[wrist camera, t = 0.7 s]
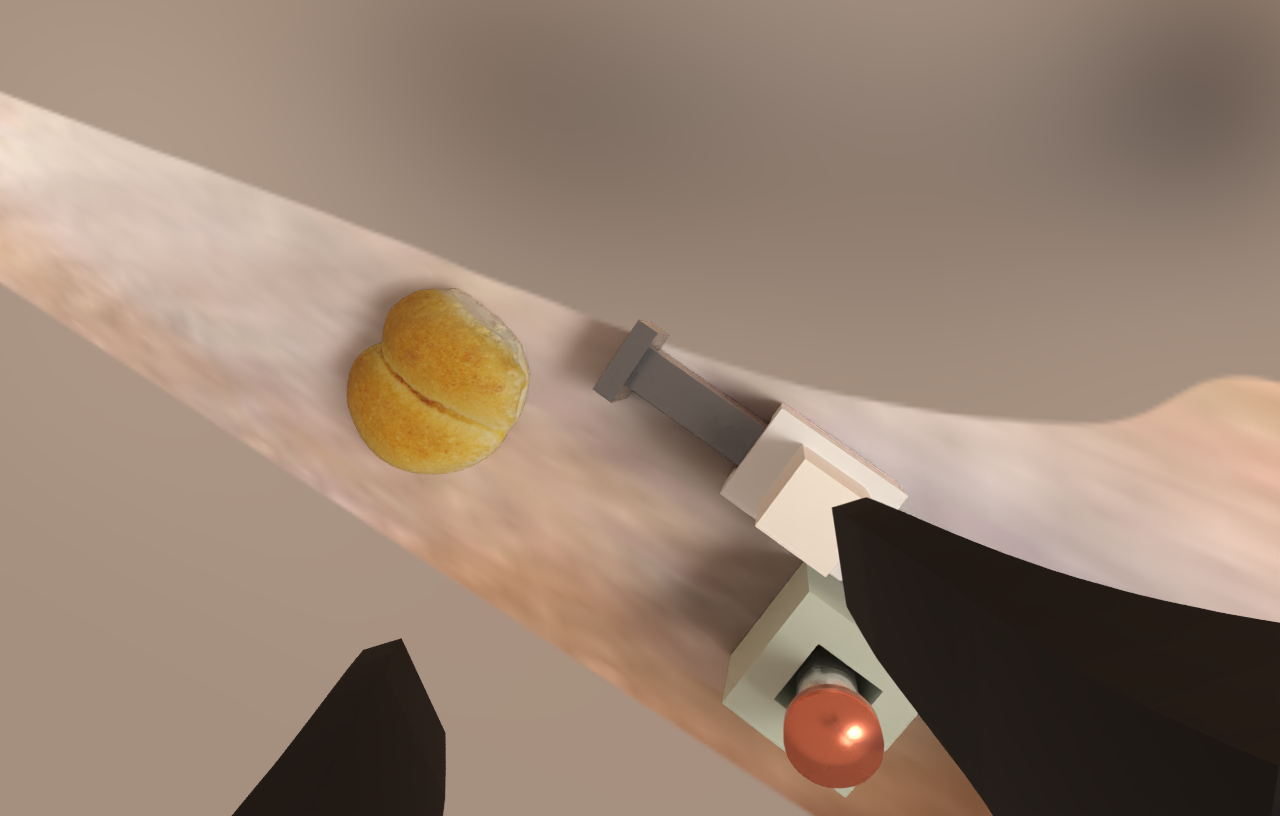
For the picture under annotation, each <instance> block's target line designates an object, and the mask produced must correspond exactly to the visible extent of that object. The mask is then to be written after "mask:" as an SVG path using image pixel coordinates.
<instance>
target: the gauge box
mask: <svg viewBox="0 0 1280 816" xmlns="http://www.w3.org/2000/svg"><path fill="white" fill-rule="evenodd" d="M818 644H820V645H821V646H822V647H824V648H825V649H826V650H828V651H829V652H830V653H832V654H833V655H835V656H836V657H837V658H839V659H840V660H841V661H843V662H844V663H845V664H847V665H848V666H849V667H851V668H852V669H853V670H854V673H855V678H856V682H857V687H858V692H859V694H860V695H861V696H862V697H864V698H865V699H866V700H867V701H868V702H869V703H870V705H871V706H872V707H873V709H874V710H875V712H876V714H877V716H878V719H879V722H880V726H881V730H882V734H883V738H884V753H885V752H886V750H887V749H888V748H889V747H890V746H891V745H892V743H893V742H894V741H895V740H896V739H897V738H898V736H899V735H900V734H901V733H902V732H903V731H904V729H905V728H906V727H907V726H908V725H909V724H910V722H911V721H912V720H913V719H914V718H915V717H916V716H917V714H918V713H917V711H916V710H915V709H914V708H913V706H912V705H911V704H910V702H909V701H908V700H907V698H906V697H905V696H904V694H903V693H902V692H901V690H900V689H899V688H898V686H897V685H896V684H895V683H894V681H893V680H892V679H891V677H890V676H889V675H888V673H887V672H886V671H885V669H884V668H883V667H882V665H881V664H880V662H879V661H878V660H877V658H876V657H875V655H874V653H873V652H872V650H871V648H870V647H869V645H868V643H867V642H866V640H865V638H864V637H863V635H862V633H861V631H860V630H859V628H858V626H857V624H856V623H855V621H854V619H853V617H852V616H851V614H850V612H849V610H848V608H847V607H846V600H845V594H844V587H843V584H842V583H840V582H839V581H838V580H836V579H835V578H833V577H832V576H831V575H829V574H828V575H827V576H826V577H824V576H823V575H822V574H820V573H819V572H818V571H816V570H815V569H813V568H812V567H811V566H809V565H808V564H806V563H805V562H804V561H803V563H802V564H801V565H800V567H799V568H798V569H797V570H796V572H795V573H794V574H793V576H792V577H791V578H790V579H789V581H788V582H787V583H786V585H785V586H784V587H783V588H782V590H781V591H780V592H779V594H778V595H777V596H776V598H775V599H774V600H773V601H772V603H771V604H770V605H769V607H768V608H767V609H766V610H765V612H764V613H763V614H762V616H761V617H760V618H759V619H758V621H757V622H756V623H755V625H754V626H753V627H752V628H751V630H750V631H749V632H748V634H747V635H746V636H745V638H744V639H743V640H742V641H741V643H740V644H739V645H738V647H737V648H736V649H735V650H734V652H733V653H732V654H731V656H730V661H729V666H728V672H727V677H726V683H725V688H724V693H723V699H722V704H723V705H725V706H726V707H727V708H729V709H730V710H731V711H733V712H734V713H735V714H736V715H738V716H739V717H740V718H742V719H743V720H744V721H746V722H747V723H748V724H749V725H751V726H752V727H753V728H755V729H756V730H757V731H759V732H760V733H761V734H762V735H764V736H765V737H766V738H768V739H769V740H770V741H772V742H773V743H774V744H775V745H777V746H778V747H779V748H781V749H782V750H783V751H785V747H784V740H783V723H784V715H785V712H786V709H787V707H788V705H789V704H790V702H791V701H792V699H793V698H794V697H795V696H796V671H797V670H798V669H799V667H800V666H801V665H802V664H803V662H804V661H805V660H806V659H807V657H808V656H809V655H810V654H811V652H812V651H813V650H814V649H815V647H816V646H817V645H818ZM785 752H786V751H785ZM854 788H855V786H853V787H849V788H833V789H834V790H835V791H837V792H838V793H839V794H841V795H842V796H843V797H845V798H846V797H847V796H848V795H849V793H850V792H851V791H852V790H853V789H854Z"/></svg>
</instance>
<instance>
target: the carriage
mask: <svg viewBox="0 0 1280 816" xmlns="http://www.w3.org/2000/svg"><path fill="white" fill-rule="evenodd" d="M720 494H721V495H722V496H723V497H725V498H726V499H727V500H729V501H730V502H732V503H733V504H734V505H736V506H737V507H739V508H740V509H741V510H743V511H744V512H745V513H747V514H748V515H750V516H751V517H752V518H754V519H755V520H756V522H755V527H757V528H758V529H759V530H761V531H762V532H764V533H765V534H766V535H768V536H769V537H771V538H772V539H773V540H775V541H776V542H777V543H779V544H780V545H782V546H783V547H784V548H786V549H787V550H789V551H790V552H791V553H793V554H794V555H795V556H797V557H798V558H800V559H801V560H802V561H804V562H805V563H806V564H808V565H809V566H811V567H812V568H813V569H815V570H816V571H818V572H819V573H820V574H822V575H823V576H824V577H826V576H827V575H828V574H829V573H830V574H831V575H833V576H834V577H835V578H837V579H838V580H840V581H842V574H841V567H840V561H839V554H838V547H837V541H836V534H835V527H834V521H833V514H832V507H835V506H838V505H842V504H845V503H848V502H851V501H855V500H858V499H861V498H865V497H868V498H870V499H873V500H876V501H878V502H881V503H883V504H886V505H888V506H890V507H893V508H895V509H897V510H898V509H899V507H900V506H901V505H902V504H903V502H904V501H905V500H906V499H907V497H908V495H907V494H906V492H905V491H904V490H903V489H902V488H901V486H900V485H899V484H898V483H897V482H896V481H895V480H894V479H892V478H891V477H889V476H888V475H886V474H885V473H883V472H882V471H881V470H879V469H878V468H876V467H875V466H873V465H872V464H870V463H869V462H868V461H866V460H865V459H863V458H862V457H860V456H859V455H857V454H856V453H855V452H853V451H852V450H850V449H849V448H847V447H846V446H844V445H843V444H842V443H840V442H839V441H837V440H836V439H834V438H833V437H831V436H830V435H829V434H827V433H826V432H824V431H823V430H821V429H820V428H818V427H817V426H816V425H814V424H813V423H811V422H810V421H808V420H807V419H805V418H804V417H803V416H801V415H800V414H798V413H797V412H795V411H794V410H792V409H791V408H790V407H788V406H787V405H785V404H784V403H782V404H781V405H780V407H779V408H778V409H777V411H776V412H775V413H774V415H773V416H772V419H771V422H770V424H769V425H768V426H767V428H766V429H765V430H764V432H763V433H762V435H761V436H760V437H759V439H758V440H757V441H756V443H755V444H754V446H753V447H752V448H751V450H750V451H749V452H748V454H747V455H746V457H745V458H744V459H743V461H742V462H741V463H740V465H739V466H738V467H735V468H734V470H733V471H732V473H731V474H730V475H729V477H728V478H727V479H726V481H725V483H724V485H723V488H722V490H721V492H720Z"/></svg>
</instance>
